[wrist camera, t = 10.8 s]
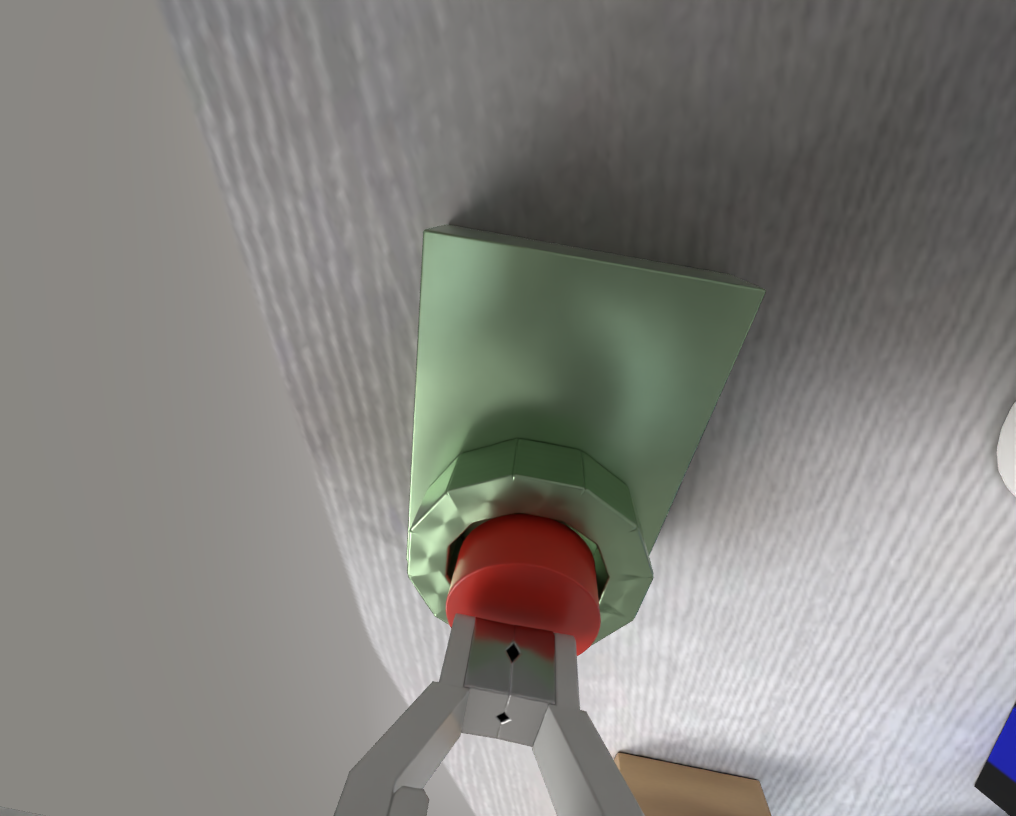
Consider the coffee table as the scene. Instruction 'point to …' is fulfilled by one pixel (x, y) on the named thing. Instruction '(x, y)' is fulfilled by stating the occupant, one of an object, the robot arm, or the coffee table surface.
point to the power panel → (689, 789)
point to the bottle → (1008, 451)
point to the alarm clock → (1002, 769)
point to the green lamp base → (561, 398)
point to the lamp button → (527, 577)
